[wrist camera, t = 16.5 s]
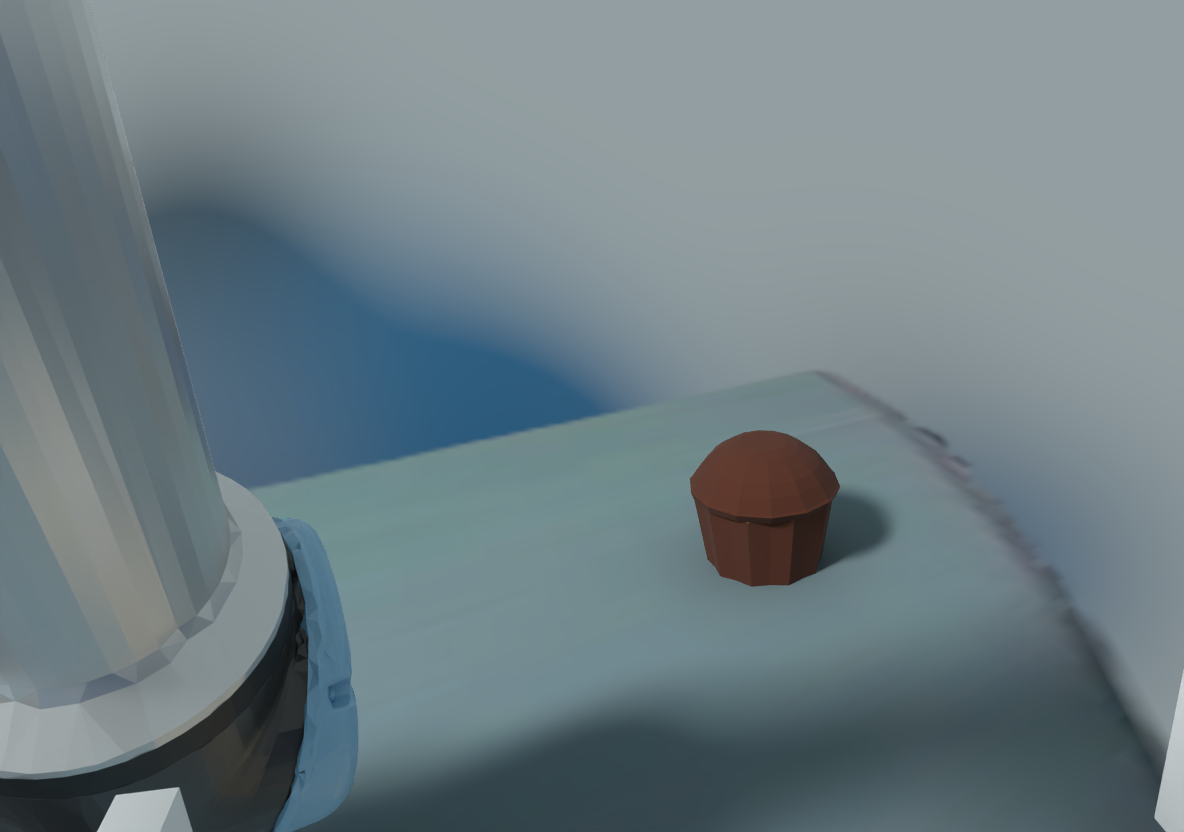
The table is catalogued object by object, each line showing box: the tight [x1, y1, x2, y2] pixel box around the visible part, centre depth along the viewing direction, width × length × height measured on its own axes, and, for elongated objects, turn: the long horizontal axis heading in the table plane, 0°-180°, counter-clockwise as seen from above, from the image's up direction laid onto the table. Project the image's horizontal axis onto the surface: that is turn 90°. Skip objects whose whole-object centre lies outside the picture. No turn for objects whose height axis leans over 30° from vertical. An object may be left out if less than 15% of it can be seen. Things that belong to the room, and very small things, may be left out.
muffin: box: [690, 430, 840, 586], centre depth 71 cm, size 12×11×10 cm
